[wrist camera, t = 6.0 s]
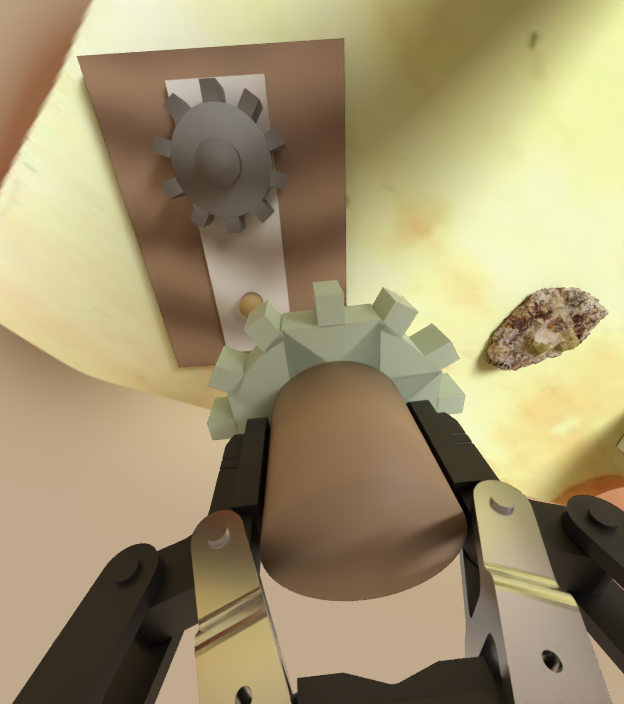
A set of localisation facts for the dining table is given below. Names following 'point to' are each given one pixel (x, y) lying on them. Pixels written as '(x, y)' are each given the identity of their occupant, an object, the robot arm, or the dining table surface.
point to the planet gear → (345, 444)
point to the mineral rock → (545, 327)
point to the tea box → (621, 445)
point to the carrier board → (171, 218)
